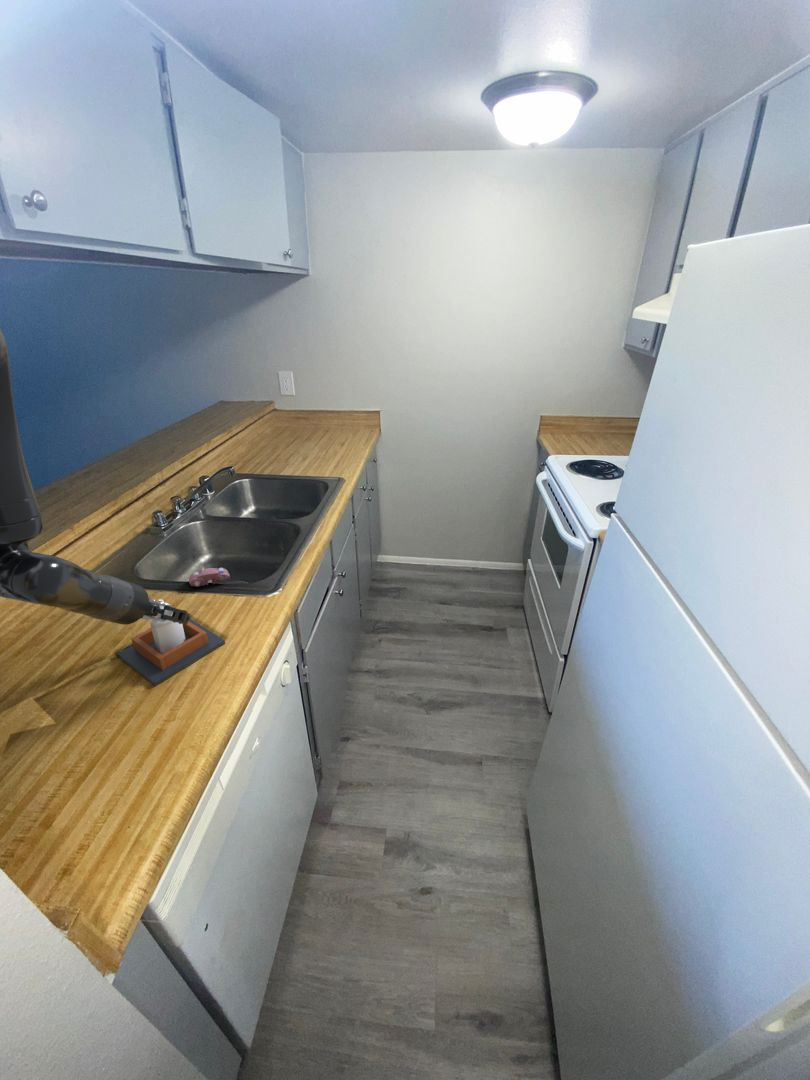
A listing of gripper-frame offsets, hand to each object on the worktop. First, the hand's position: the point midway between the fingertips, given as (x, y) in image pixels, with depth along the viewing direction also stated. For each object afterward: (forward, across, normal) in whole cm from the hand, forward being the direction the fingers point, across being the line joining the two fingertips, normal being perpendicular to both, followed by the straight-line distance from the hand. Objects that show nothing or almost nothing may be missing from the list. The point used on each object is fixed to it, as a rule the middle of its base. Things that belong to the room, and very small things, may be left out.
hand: (169, 615), depth 98 cm
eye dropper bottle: (+4, 0, +6) cm, 7 cm away
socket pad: (+5, 0, +7) cm, 8 cm away
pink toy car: (+22, +7, -10) cm, 25 cm away
